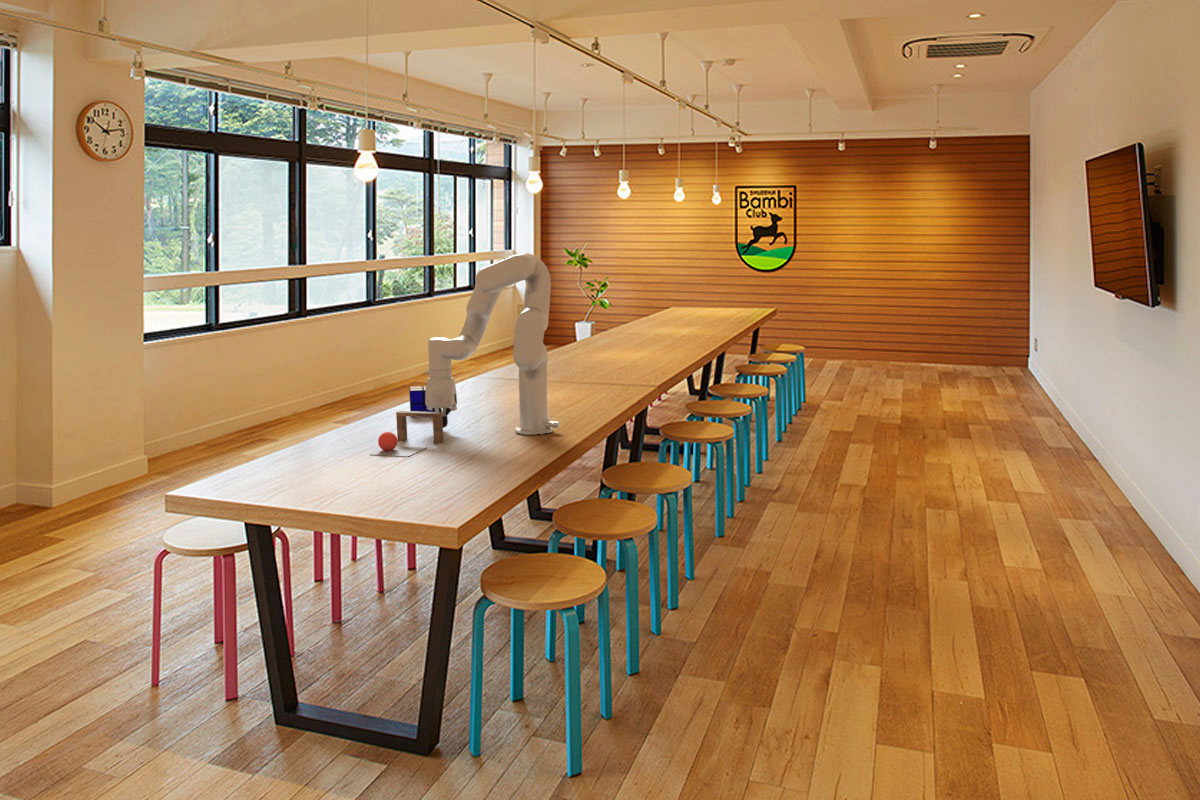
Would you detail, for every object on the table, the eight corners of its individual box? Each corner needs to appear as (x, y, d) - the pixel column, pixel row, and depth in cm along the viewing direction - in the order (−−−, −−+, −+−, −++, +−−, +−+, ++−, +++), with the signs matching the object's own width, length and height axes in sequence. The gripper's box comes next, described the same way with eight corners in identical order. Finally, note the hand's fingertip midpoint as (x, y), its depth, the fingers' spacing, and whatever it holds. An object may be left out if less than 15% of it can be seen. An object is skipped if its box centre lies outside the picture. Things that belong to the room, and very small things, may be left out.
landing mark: (426, 448, 320) (426, 447, 320) (407, 457, 307) (407, 456, 307) (390, 446, 323) (390, 445, 323) (369, 454, 311) (369, 454, 311)
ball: (392, 456, 314) (402, 445, 319) (389, 440, 311) (399, 429, 316) (376, 453, 316) (386, 442, 321) (372, 437, 313) (382, 426, 318)
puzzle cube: (410, 417, 372) (409, 390, 370) (410, 412, 382) (409, 386, 380) (438, 416, 374) (437, 389, 372) (437, 411, 384) (435, 385, 382)
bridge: (401, 439, 333) (400, 410, 331) (443, 441, 329) (442, 412, 327) (397, 441, 330) (396, 412, 329) (439, 443, 326) (438, 414, 324)
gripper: (415, 375, 341) (418, 428, 344) (456, 376, 337) (458, 430, 340) (425, 371, 348) (427, 424, 351) (465, 373, 344) (467, 425, 347)
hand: (442, 426), depth 345 cm, fingers closed
